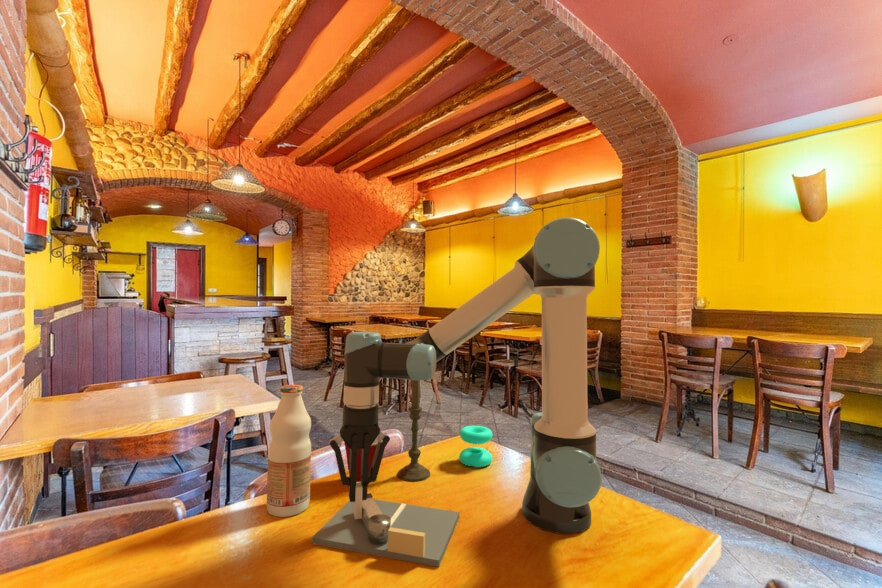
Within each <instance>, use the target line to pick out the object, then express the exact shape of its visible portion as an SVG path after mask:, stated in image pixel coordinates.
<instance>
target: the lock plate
mask: <svg viewBox="0 0 882 588" xmlns="http://www.w3.org/2000/svg"><path fill="white" fill-rule="evenodd" d="M373 499H374V498H373ZM374 501H375V503H376V504H377V506H378V507H379V509H380V511H381V512H382V514H383V515H387V516H389V517H390V518H391V527H390V528H389V530H388V540H387V541H386V542H383V543H373V542H371V541H369V540H368V530H367V528H366V526H365V524H364V522H363V520H362V519H361V518H360V519H355V517H354V514H353V507H354V502H350V499H349V500H348V502H346V503H345V504H344V505H343V506H342V507H341V508H340V509H339V510H338V511H337V512H336V513H335V514H334V515H333V516H331V518H330V519H329V520H328V521H327V522H326V523H325V524H324V525H322V527H321V528H319V530H318V531H316V533H314V535H313V536H312V537H311V544H313V545H316V546H317V545H318V546H323V547H329V548H334V549H338V550H345V551H350V552H355V553H360V554H361V553H362V554H366V555H372V556H378V557H382V558H387V559H391V560H392V559H393V560H398V561H404V562H408V563H414V564H415V563H416V564H421V565H424V566H431V567H437V568H439V567H440V565H441V563H442V560H443V558H444V556H445V553H446V551H447V549H448V546H449V544H450V541H451V539H452V536H453V534H454V532H455V529H456V527H457V524H458V522H459V519H460V511H456V510H455V511H454V510H447V509H440V508H436V507H435V508H434V507H428V506H427V507H426V506H421V505H414V504H409V503H407V504H406V503H400V502H395V501H393V502H392V501H388V500H387V501H386V500H382V499H374Z"/></svg>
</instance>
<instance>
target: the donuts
mask: <svg viewBox="0 0 882 588" xmlns="http://www.w3.org/2000/svg"><path fill="white" fill-rule="evenodd" d="M459 438H460V439H461V440H462V441H463V442H465V443H467V444H472V445H484V444H486V443H488V442H490V441H491V440H492V439H493V432H492V430H491V429H490V428H489V427H486V426H482V425H467V426H464V427H462V428H461V429H460V430H459ZM458 459H459V461H460V462H461V464H463V465H464V464H465V465H464V466H466V465H468V466H467V467H470V466H475V467H474V468H482V467H481V466H485V467H487V466H489V465H490V464H491V463H492V461H493V455H492V454H491V452H489V451H488V450H487V449H485V448H482V447H477V446H476V447H475V446H472V447H467V448H465V449H464V448H463V450H461V451H460V453H459V456H458ZM486 465H487V466H486Z"/></svg>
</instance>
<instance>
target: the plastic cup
mask: <svg viewBox="0 0 882 588" xmlns="http://www.w3.org/2000/svg"><path fill="white" fill-rule="evenodd" d="M377 439H378V436H377V438H376V439H375V441H374V442H373V444H372V445H371V446H370V453H369V471H368V474H369V473H370V469H371V465H372V462H373V458H374V454H375V451H376V447H377V444H378V440H377ZM343 442H344V443H343V444H344V448H345V454H346V461H347V462H346V463H347V464H346V465H347V470H348V471H349V466H350V448H349V447H348V446H347V444H346V443H345V441H344V440H343ZM361 456H362V449H361V448H360V449H358V454H357V477H356V482H361Z"/></svg>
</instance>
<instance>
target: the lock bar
mask: <svg viewBox="0 0 882 588" xmlns="http://www.w3.org/2000/svg"><path fill="white" fill-rule="evenodd" d="M361 519H362V520H363V522H364V524H365V526H366V528H367V530H368V540H369V541H371V542H373V543H383V542H386V541H387V540H388V530H389V528H390V527H391V518H390V517H389V516H387V515H383V514H382V512H381V511H380V509H379V507H378V506H377V504H376V503H375V501H374V497H373V494H372V493H371V492H370V493H368V492H367V499H366V500H362V518H361Z"/></svg>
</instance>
